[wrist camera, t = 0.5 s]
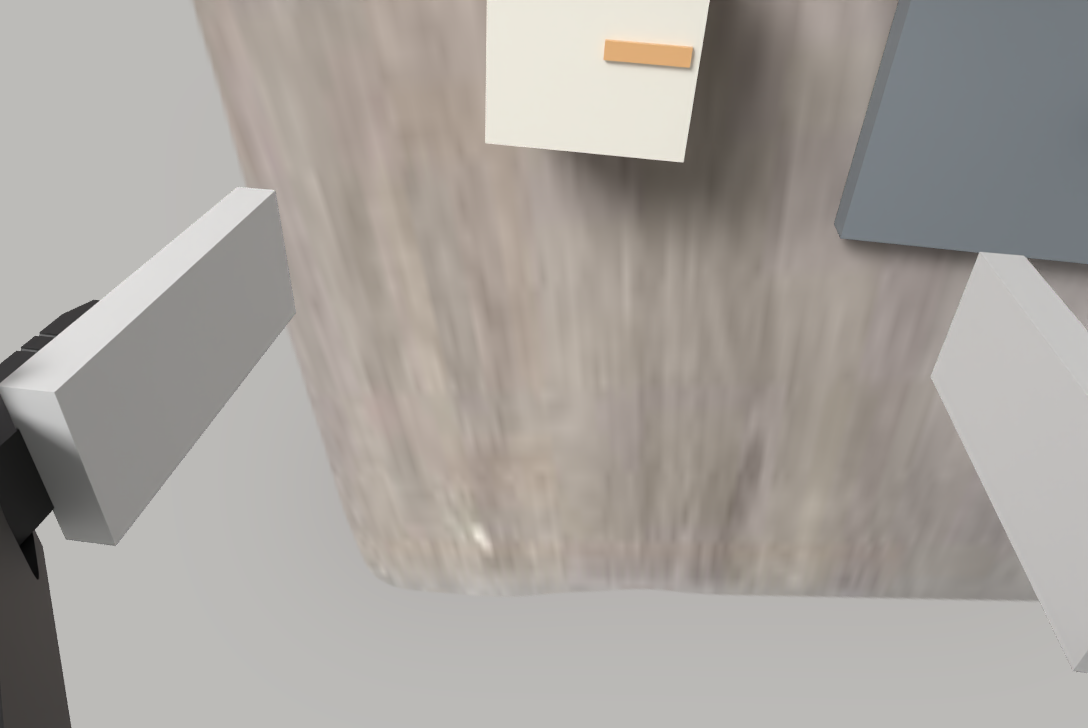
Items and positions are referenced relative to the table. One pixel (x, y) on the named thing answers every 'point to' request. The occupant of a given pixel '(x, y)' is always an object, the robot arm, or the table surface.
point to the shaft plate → (977, 131)
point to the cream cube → (593, 75)
